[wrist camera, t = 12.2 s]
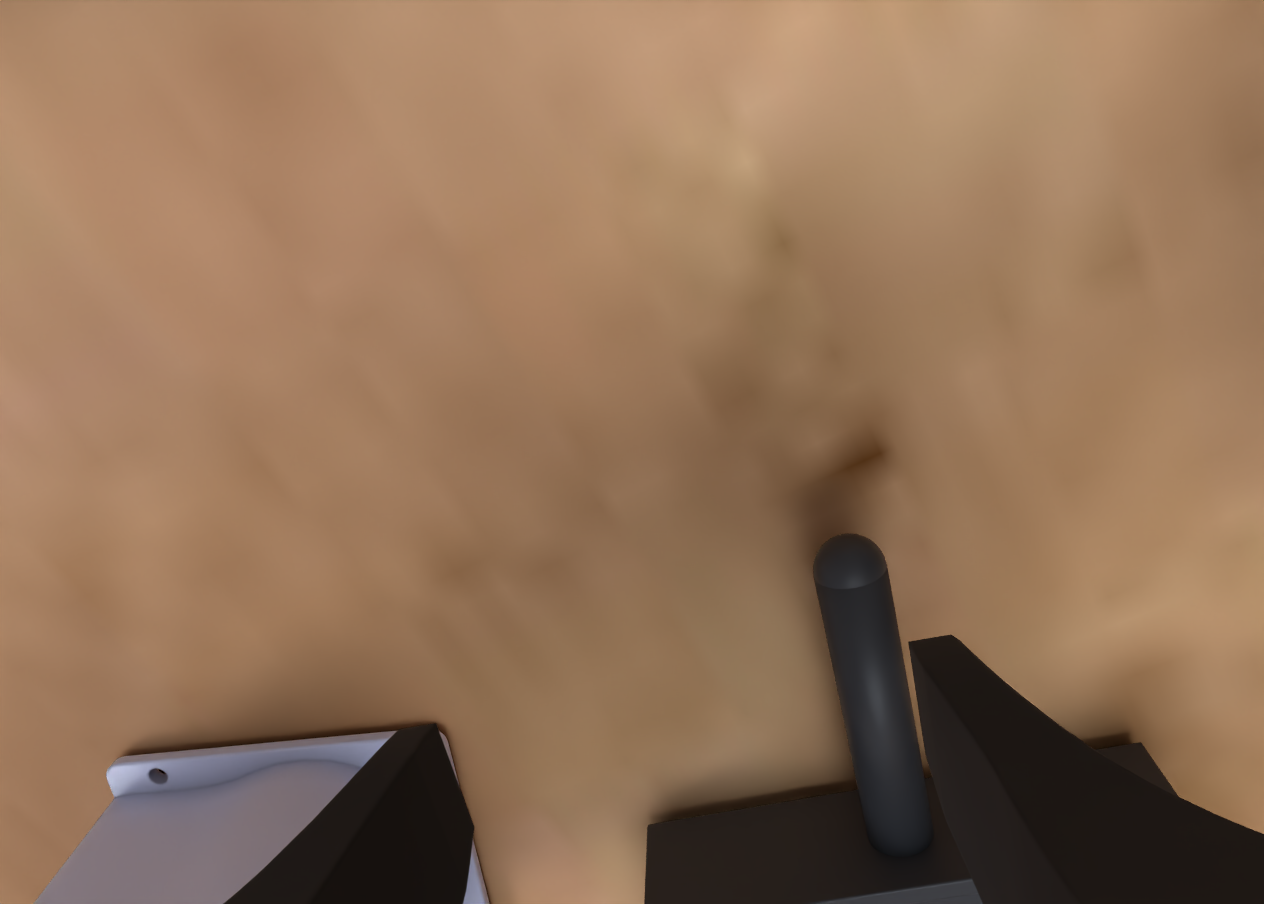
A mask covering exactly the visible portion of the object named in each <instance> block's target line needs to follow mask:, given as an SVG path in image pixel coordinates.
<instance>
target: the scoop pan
mask: <svg viewBox="0 0 1264 904" xmlns="http://www.w3.org/2000/svg"><path fill="white" fill-rule="evenodd" d="M813 573H814V580H815V585H816V590H817V595H818V599H819V604H820V609H821V614H822V619H823V623H824V628H825V633H826V638H827V643H828V648H829V652H830V657H831V662H832V667H833V672H834V676H835V681H836V686H837V691H838V696H839V700H840V705H841V710H842V715H843V720H844V725H845V729H846V734H847V739H848V744H849V749H850V753H851V758H852V763H853V768H854V773H855V777H856V782H857V787H858V790H853V791H847V792H841V793H835V794H829V795H823V796H817V797H811V798H805V799H799V800H793V801H787V802H781V803H775V804H769V805H764V806H758V807H752V808H746V809H740V810H734V811H728V812H722V813H716V814H710V815H704V816H698V817H692V818H686V819H680V820H674V821H668V822H662V823H656V824H650V825H648V827H647V852H646V878H645V904H983V903H982V901H981V898H980V896H979V894H978V892H977V889H976V887H975V885H974V883H973V880H972V878H971V876H970V874H969V871H968V869H967V867H966V865H965V862H964V860H963V858H962V856H961V853H960V851H959V849H958V847H957V844H956V842H955V840H954V837H953V835H952V833H951V831H950V828H949V826H948V824H947V821H946V819H945V816H944V813H943V810H942V807H941V803H940V800H939V797H938V794H937V791H936V788H935V784H934V781H933V778H932V777H931V778H924V772H923V767H922V761H921V755H920V750H919V744H918V738H917V733H916V727H915V721H914V716H913V710H912V704H911V699H910V693H909V687H908V682H907V676H906V670H905V665H904V659H903V653H902V648H901V642H900V636H899V631H898V625H897V620H896V614H895V608H894V603H893V597H892V591H891V586H890V580H889V574H888V569H887V564H886V560H885V557H884V555H883V553H882V551H881V550H880V548H879V547H878V546H877V545H876V544H875V543H874V542H872V541H871V540H870V539H868V538H866V537H864V536H861V535H858V534H841V535H837V536H835V537H832V538H830V539H829V540H828V541H826V542H825V543H824V544H823V545H822V546H821V548H820V549H819V550H818V552H817V554H816V556H815V559H814V564H813ZM1096 751H1098V752H1099V753H1101V754H1102V755H1104V756H1105V757H1107V758H1108V759H1110V760H1112V761H1113V762H1115V763H1117V764H1118V765H1120V766H1122V767H1124V768H1125V769H1127V770H1129V771H1131V772H1132V773H1134V774H1136V775H1138V776H1139V777H1141V778H1143V779H1145V780H1146V781H1148V782H1150V783H1152V784H1154V785H1156V786H1158V787H1160V788H1162V789H1163V790H1165V791H1167V792H1169V793H1171V794H1173V795H1175V796H1178V795H1177V794H1176V792H1175V791H1174V789H1173V788H1172V786H1171V785H1170V784H1169V782H1168V781H1167V779H1166V778H1165V776H1164V775H1163V773H1162V772H1161V771H1160V769H1159V768H1158V766H1157V765H1156V763H1155V762H1154V760H1153V759H1152V758H1151V756H1150V755H1149V753H1148V752H1147V750H1146V749H1145V747H1144V746H1143V745H1142V743H1133V744H1127V745H1121V746H1115V747H1109V748H1103V749H1098V750H1096Z"/></svg>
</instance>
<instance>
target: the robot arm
mask: <svg viewBox="0 0 1264 904" xmlns="http://www.w3.org/2000/svg"><path fill="white" fill-rule="evenodd" d="M908 643H909V650H910V656H911V663H912V669H913V676H914V682H915V689H916V695H917V702H918V708H919V715H920V721H921V728H922V735H923V741H924V748H925V754H926V758H927V761H928V765H929V768H930V771H931V775H932V778H933V781H934V784H935V788H936V791H937V794H938V797H939V800H940V803H941V807H942V810H943V813H944V816H945V819H946V821H947V824H948V826H949V828H950V831H951V833H952V835H953V837H954V840H955V842H956V844H957V847H958V849H959V851H960V853H961V856H962V858H963V860H964V862H965V865H966V867H967V869H968V871H969V874H970V876H971V878H972V880H973V883H974V885H975V887H976V889H977V892H978V894H979V896H980V898H981V901H982V903H983V904H1264V834H1262V833H1259V832H1257V831H1254V830H1251V829H1249V828H1246V827H1244V826H1242V825H1239V824H1237V823H1234V822H1232V821H1230V820H1227V819H1225V818H1223V817H1220V816H1218V815H1216V814H1213V813H1211V812H1209V811H1207V810H1205V809H1203V808H1201V807H1199V806H1197V805H1194V804H1192V803H1190V802H1188V801H1186V800H1184V799H1182V798H1180V797H1178V796H1175V795H1173V794H1171V793H1169V792H1167V791H1165V790H1163V789H1162V788H1160V787H1158V786H1156V785H1154V784H1152V783H1150V782H1148V781H1146V780H1145V779H1143V778H1141V777H1139V776H1138V775H1136V774H1134V773H1132V772H1131V771H1129V770H1127V769H1125V768H1124V767H1122V766H1120V765H1118V764H1117V763H1115V762H1113V761H1112V760H1110V759H1108V758H1107V757H1105V756H1104V755H1102V754H1101V753H1099V752H1098V751H1096V750H1094V749H1093V748H1091V747H1090V746H1088V745H1087V744H1086V743H1084V742H1083V741H1081V740H1080V739H1078V738H1077V737H1076V736H1074V735H1073V734H1071V733H1070V732H1068V731H1067V730H1065V729H1064V728H1063V727H1061V726H1060V725H1059V724H1057V723H1056V722H1055V721H1053V720H1052V719H1051V718H1049V717H1048V716H1047V715H1045V714H1044V713H1043V712H1042V711H1040V710H1039V709H1038V708H1036V707H1035V706H1034V705H1033V704H1031V703H1030V702H1029V701H1028V700H1026V699H1025V698H1024V697H1023V696H1021V695H1020V694H1019V693H1018V692H1016V691H1015V690H1014V689H1013V688H1012V687H1010V686H1009V685H1008V684H1007V683H1006V682H1004V681H1003V680H1002V679H1001V678H1000V677H999V676H998V675H996V674H995V673H994V672H993V671H992V670H991V669H990V668H989V667H987V666H986V665H985V664H984V663H983V662H982V661H981V660H980V659H979V658H978V657H977V656H975V655H974V654H973V653H972V652H971V651H970V650H969V649H968V648H967V647H966V646H965V645H964V644H963V643H962V642H961V641H960V640H958V639H957V638H955V637H954V636H953V635H946V636H940V637H934V638H928V639H922V640H917V641H911V642H908ZM158 769H161V770H163V771H164V772H165V773H166V774H163V773H161V772H159V771H158ZM106 777H107V781H108V783H109V786H110V788H111V791H112V793H113V795H114V799H113V801H112V802H111V803H110V805H109V806H108V807H107V808H106V810H105V811H104V812H103V814H102V815H101V816H100V818H99V819H98V820H97V821H96V823H95V824H94V825H93V827H92V828H91V829H90V831H89V832H88V833H87V834H86V836H85V837H84V838H83V840H82V841H81V842H80V844H79V845H78V846H77V847H76V849H75V850H74V851H73V853H72V854H71V855H70V857H69V858H68V859H67V860H66V862H65V863H64V864H63V866H62V867H61V868H60V870H59V871H58V872H57V873H56V875H55V876H54V877H53V879H52V880H51V881H50V883H49V884H48V885H47V886H46V888H45V889H44V890H43V892H42V893H41V894H40V896H39V897H38V898H37V899H36V901H35V902H34V903H33V904H490V903H489V899H488V895H487V892H486V888H485V884H484V880H483V876H482V872H481V868H480V864H479V860H478V857H477V853H476V849H475V845H474V841H473V833H474V825H473V822H472V820H471V817H470V814H469V811H468V809H467V806H466V803H465V800H464V798H463V795H462V792H461V790H460V786H459V783H458V779H457V775H456V771H455V767H454V763H453V759H452V755H451V751H450V748H449V744H448V741H447V739H446V737H445V735H444V734H442V733H441V732H440V731H439V730H438V727H437V724H436V723H434V724H428V725H422V726H416V727H411V728H405V729H399V730H398V731H387V732H376V733H366V734H355V735H344V736H334V737H323V738H313V739H302V740H291V741H281V742H270V743H259V744H249V745H238V746H227V747H217V748H206V749H196V750H185V751H174V752H164V753H153V754H142V755H132V756H123V757H120V758H117V759H116V760H115V761H114V762H113V763H112V764H111V766H110V767H109V768H108V770H107V773H106Z"/></svg>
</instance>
